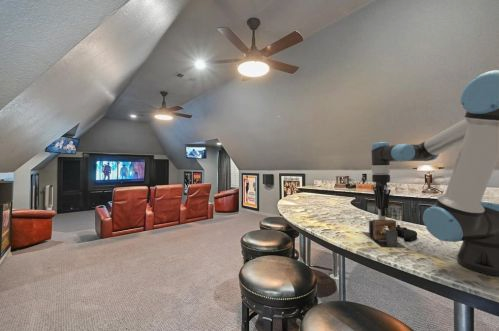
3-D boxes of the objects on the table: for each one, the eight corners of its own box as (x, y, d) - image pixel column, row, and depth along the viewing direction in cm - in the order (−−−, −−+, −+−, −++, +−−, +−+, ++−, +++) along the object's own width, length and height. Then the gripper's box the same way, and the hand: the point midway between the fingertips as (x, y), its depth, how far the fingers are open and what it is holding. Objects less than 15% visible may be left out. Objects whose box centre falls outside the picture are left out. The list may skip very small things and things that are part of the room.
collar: (396, 240, 103) (395, 221, 103) (376, 240, 104) (375, 221, 104) (393, 238, 106) (392, 219, 106) (373, 237, 107) (372, 219, 107)
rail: (405, 247, 96) (405, 231, 97) (381, 247, 98) (380, 230, 98) (382, 233, 117) (382, 219, 117) (362, 232, 119) (362, 219, 119)
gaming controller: (381, 225, 116) (395, 220, 119) (383, 236, 117) (397, 231, 119) (406, 233, 103) (422, 227, 105) (408, 245, 103) (424, 239, 106)
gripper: (396, 174, 100) (397, 225, 100) (382, 173, 113) (383, 219, 113) (378, 174, 101) (380, 225, 101) (367, 173, 114) (368, 218, 114)
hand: (382, 222), depth 107 cm, fingers closed
